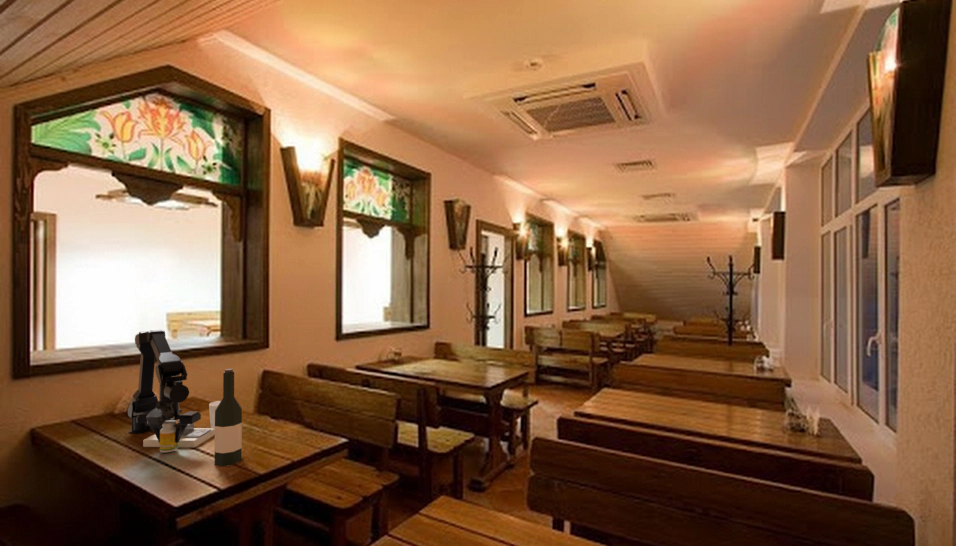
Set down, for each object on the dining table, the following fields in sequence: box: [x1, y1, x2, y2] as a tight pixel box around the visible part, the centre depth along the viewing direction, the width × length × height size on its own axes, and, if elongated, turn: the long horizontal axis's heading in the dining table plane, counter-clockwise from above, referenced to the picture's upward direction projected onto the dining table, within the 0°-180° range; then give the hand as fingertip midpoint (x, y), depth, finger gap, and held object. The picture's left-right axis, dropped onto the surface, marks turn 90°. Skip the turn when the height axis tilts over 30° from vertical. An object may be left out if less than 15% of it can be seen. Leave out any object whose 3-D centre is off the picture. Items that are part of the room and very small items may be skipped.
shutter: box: [181, 422, 211, 438], centre depth 174 cm, size 8×8×3 cm
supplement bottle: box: [159, 420, 179, 453], centre depth 163 cm, size 5×5×10 cm
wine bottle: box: [214, 368, 243, 467], centre depth 156 cm, size 8×8×30 cm
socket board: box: [142, 427, 215, 448], centre depth 174 cm, size 18×13×2 cm
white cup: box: [208, 400, 221, 428], centre depth 188 cm, size 8×8×10 cm
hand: (168, 442), depth 163 cm, fingers closed on supplement bottle, 5 cm apart
